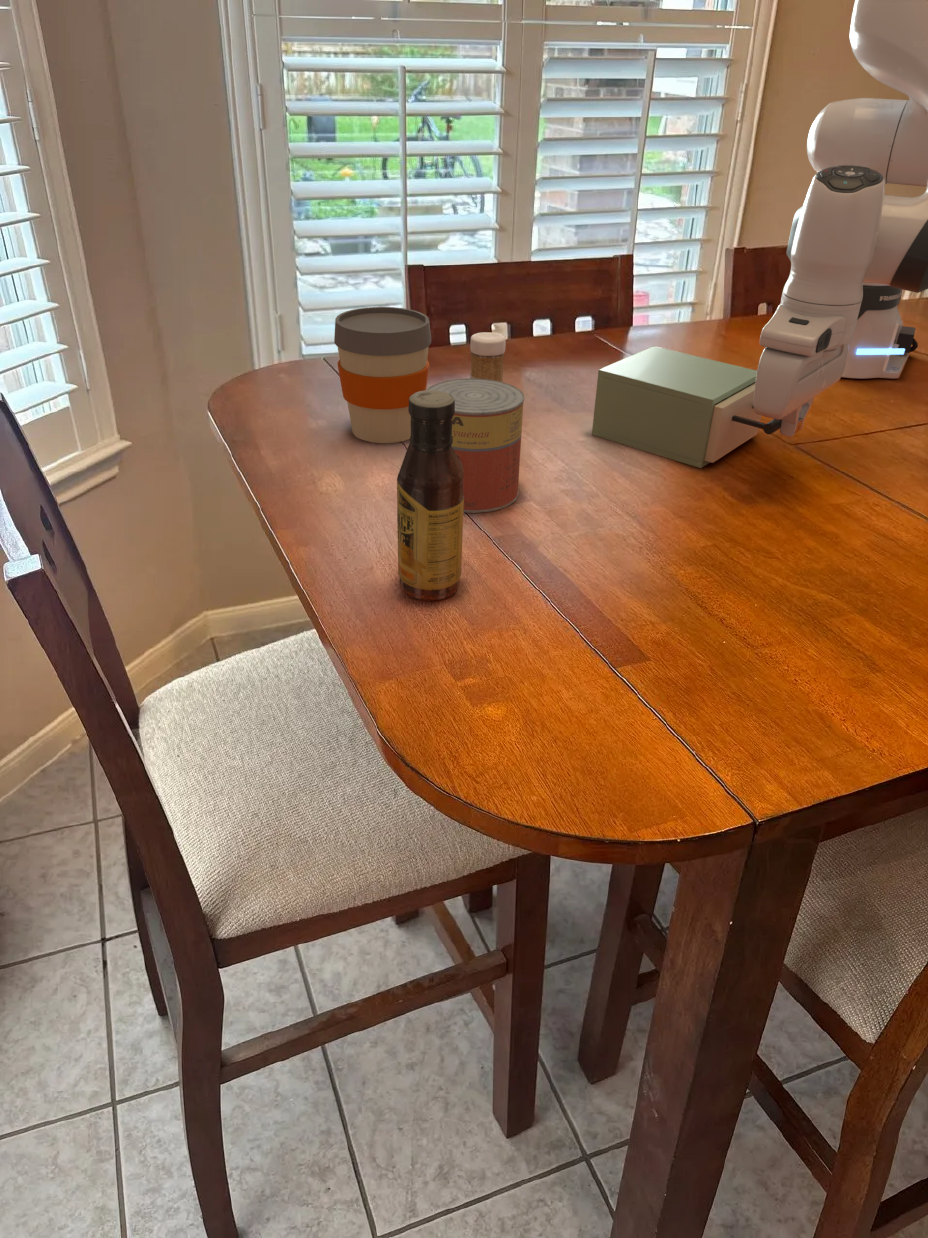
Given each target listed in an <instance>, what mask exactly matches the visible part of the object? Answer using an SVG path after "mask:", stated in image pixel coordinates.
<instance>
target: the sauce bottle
mask: <svg viewBox="0 0 928 1238" xmlns="http://www.w3.org/2000/svg"><path fill="white" fill-rule="evenodd" d="M408 409H409V414H410V416H411V436H410V439H409V443H408V446H407V449H406V452H405V454H404V457H403V460H402V462H401V463H402V464H401V466H400V468H399V471H398V474H397V477H396V498H397V499H396V505H397V506H396V516H397V517H396V519H397V520H396V521H397V523H396V524H397V527H396V528H397V531H396V533H397V574H398V577H399V585H400V588H401V590H402V591H403V592H404V593H405V594H407V596H408V597H411V598H412V599H415V600H422V601H430V602H431V601H440V600H444V599H448V598H450V597H452V596H454V595H455V594H456V592H457V591H458V588H459V586H460V581H461V576H462V564H463V563H462V562H463V561H462V559H463V533H464V512H463V508H464V495H463V478H464V472H463V465H462V462H461V460H460V458H459V456H458V455H457V454H456V453H455V451H454V449H453V447H452V444H453V437H452V418H453V416H454V413H455V400H454V398H453V396H452V395H451V394H449V393H447V392H443V391H438V390H427V389H426V390H424V391H419V392H416V393H414V394H413V395H411V396H410V398H409V408H408Z"/></svg>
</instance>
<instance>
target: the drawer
mask: <svg viewBox="0 0 928 1238" xmlns="http://www.w3.org/2000/svg"><path fill="white" fill-rule="evenodd" d="M754 389H755V383H754V384H752V385H751V386H749V387H745V388H743V389H741V390H740V391H738V392H736V393H734V394H732V396H731V397H729V398H728V399H726V400H724V401H722V402H720V403H719V404H717V405H715V406H714V410H713V416H712V422H711V427H710V433H709V438H708V444H707V449H706V455H705V461H708V462H710V463H712V464H714V463H716V462H717V461H718V460H720V459H721V458H723V457H724V456H726V455H727V454H729V453H730V452H732V451H733V450H735V449H736V448H738V447H740V446H741V445H743V444H744V443H746V442H747V441H749V440H750V439H752V438H753V437H755V436H756V435H758V434H759V431H760V430H759V429H761V430H763V433H764V434H766V435H773V434H774V433H775V432H777V431H778V430H780V427H781V423H782V419H781V420H778V419H773V418H772V419H771V420H769V421H768V422H767V423H766V422H762V421H761V420H762V416H761V415H758V414H756V413H755V411H754V407H753V396H754Z"/></svg>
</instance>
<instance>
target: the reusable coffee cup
mask: <svg viewBox="0 0 928 1238" xmlns="http://www.w3.org/2000/svg"><path fill="white" fill-rule="evenodd" d="M333 341H334V342H333V343H334V344H335V346H336V347H337V351H338V358H339V360H338V361H337V369H338V375H339V376H338V377H339V381H340V387H341V393H342V397H343V399H344V400H345V402H346V404H347V408H348V414H349V419H350V420H349V421H350V425H351V426H350V427H351V431H352V434H353V436H355V437H356V438H358V439H359V440H362V441H365V442H370V443H373V444H394V443H395V444H396V443H400V442H401V443H402V442H404V441H409V440H410V436H411V416H410V414H409V409H408V408H409V398H410V396H411V395H413V394H414V393H416V392H419V391H424V390H427V386H428V380H429V371H430V370H429V369H430V361H429V360H428V355H429V347H430V346H431V345H432V332H431V324H430V318H429V316H427V315H426V314H425V313H422V312H421V311H418V310H414V309H410V308H404V307H394V306H368V307H367V306H366V307H360V308H354V309H350V310H346V311H344V312H342V313H340V314H338V315H336V317H335V320H334V338H333Z"/></svg>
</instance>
